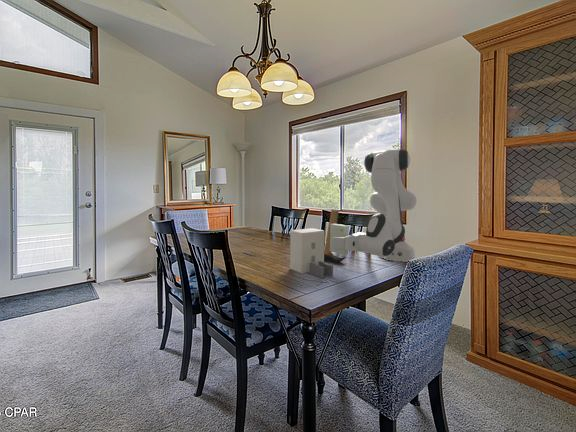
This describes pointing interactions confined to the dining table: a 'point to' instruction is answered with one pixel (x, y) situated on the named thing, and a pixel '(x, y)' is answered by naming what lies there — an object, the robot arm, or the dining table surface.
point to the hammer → (327, 253)
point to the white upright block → (339, 231)
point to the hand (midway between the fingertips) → (340, 237)
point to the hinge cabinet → (308, 252)
